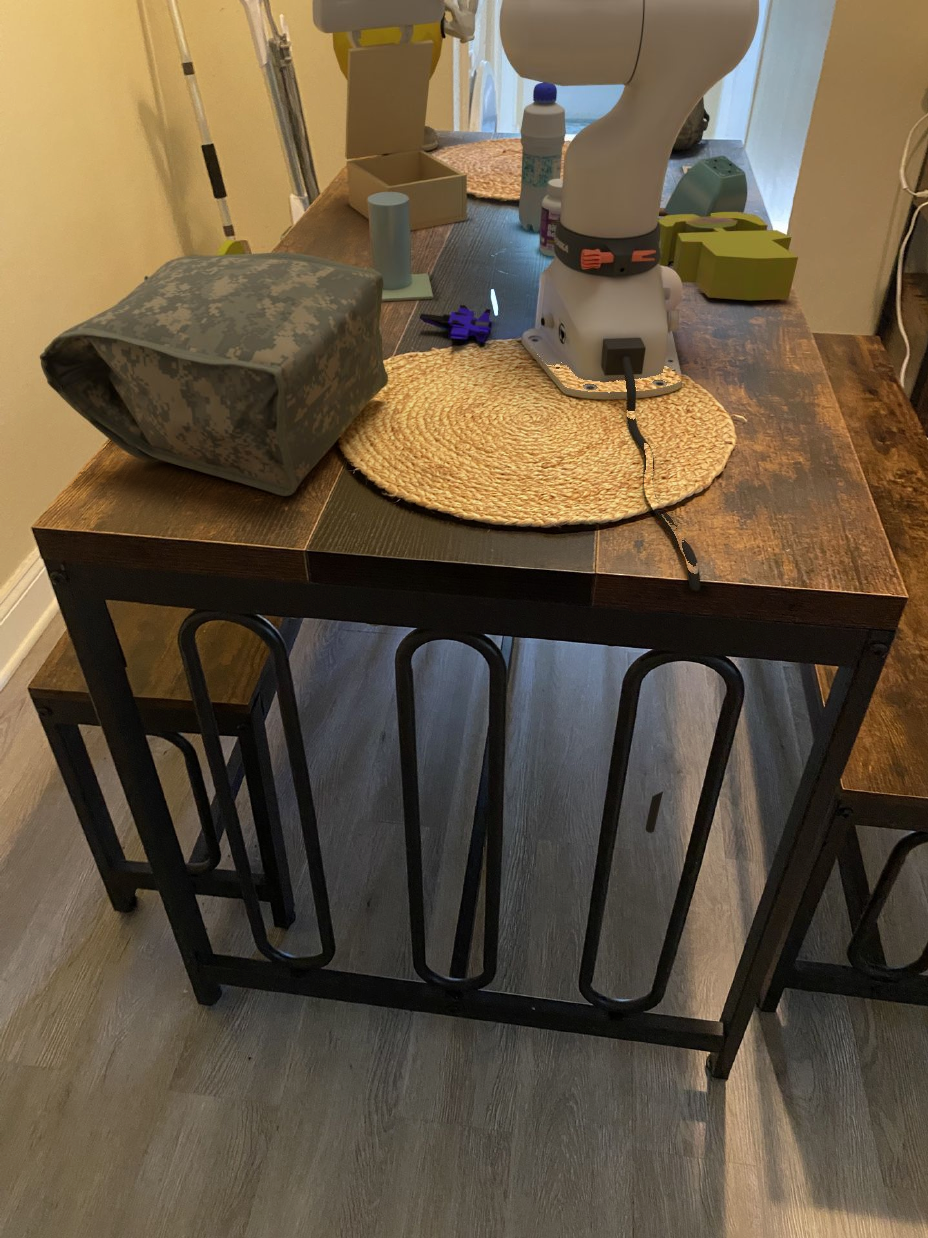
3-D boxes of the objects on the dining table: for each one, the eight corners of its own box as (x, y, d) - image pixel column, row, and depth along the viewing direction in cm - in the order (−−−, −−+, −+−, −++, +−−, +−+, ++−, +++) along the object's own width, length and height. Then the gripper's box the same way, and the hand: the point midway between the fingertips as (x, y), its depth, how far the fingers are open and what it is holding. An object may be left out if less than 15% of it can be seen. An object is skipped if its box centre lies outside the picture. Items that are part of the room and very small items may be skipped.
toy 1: (476, 125, 190) (480, -53, 170) (474, 159, 172) (478, -35, 152) (347, 122, 190) (336, -57, 170) (331, 156, 172) (317, -39, 152)
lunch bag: (390, 400, 103) (179, 349, 109) (386, 259, 91) (151, 211, 97) (295, 517, 88) (57, 450, 94) (276, 366, 76) (7, 302, 82)
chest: (466, 219, 146) (466, 174, 141) (389, 234, 141) (387, 187, 137) (423, 192, 156) (421, 149, 152) (349, 205, 151) (346, 161, 147)
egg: (683, 282, 120) (689, 257, 112) (675, 328, 119) (680, 305, 112) (637, 277, 120) (639, 251, 113) (629, 322, 120) (630, 299, 113)
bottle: (556, 235, 141) (566, 88, 127) (513, 232, 142) (518, 86, 128) (562, 221, 146) (571, 78, 132) (520, 218, 147) (525, 75, 133)
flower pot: (764, 176, 135) (738, 232, 142) (725, 145, 138) (702, 201, 146) (722, 184, 131) (698, 241, 138) (683, 152, 135) (662, 209, 142)
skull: (737, 79, 162) (674, 12, 168) (651, 143, 164) (593, 74, 171) (740, 153, 180) (683, 90, 186) (663, 209, 183) (609, 145, 189)
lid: (433, 42, 138) (419, 26, 140) (350, 51, 133) (336, 34, 135) (422, 147, 151) (410, 131, 153) (346, 159, 146) (334, 142, 149)
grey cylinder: (418, 284, 125) (415, 200, 118) (382, 292, 124) (377, 207, 116) (396, 266, 130) (392, 185, 123) (361, 273, 128) (355, 191, 121)
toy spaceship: (495, 305, 117) (493, 321, 118) (426, 297, 117) (425, 314, 119) (486, 339, 109) (485, 356, 111) (413, 330, 110) (412, 347, 111)
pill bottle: (545, 259, 133) (549, 189, 127) (534, 246, 137) (537, 178, 131) (580, 255, 134) (586, 186, 128) (568, 243, 138) (573, 174, 132)
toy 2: (644, 256, 135) (694, 307, 120) (650, 215, 131) (702, 262, 116) (746, 250, 137) (807, 299, 122) (754, 210, 133) (818, 255, 118)
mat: (433, 298, 123) (433, 295, 123) (358, 302, 122) (358, 299, 122) (428, 276, 129) (427, 273, 129) (356, 279, 128) (356, 276, 128)
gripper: (316, -43, 125) (326, 73, 134) (449, -52, 132) (449, 59, 141) (300, -49, 129) (310, 64, 138) (429, -57, 136) (431, 50, 145)
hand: (382, 61), depth 140 cm, fingers closed on lid, 5 cm apart
